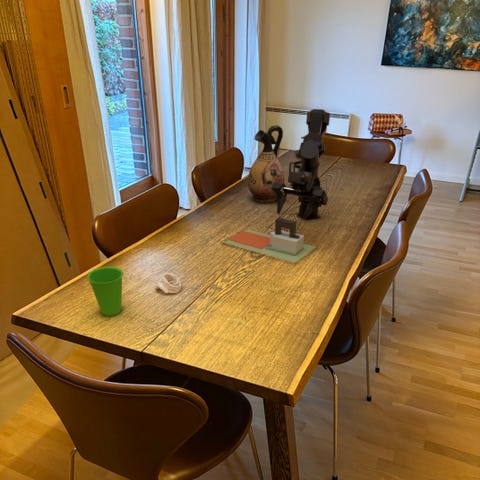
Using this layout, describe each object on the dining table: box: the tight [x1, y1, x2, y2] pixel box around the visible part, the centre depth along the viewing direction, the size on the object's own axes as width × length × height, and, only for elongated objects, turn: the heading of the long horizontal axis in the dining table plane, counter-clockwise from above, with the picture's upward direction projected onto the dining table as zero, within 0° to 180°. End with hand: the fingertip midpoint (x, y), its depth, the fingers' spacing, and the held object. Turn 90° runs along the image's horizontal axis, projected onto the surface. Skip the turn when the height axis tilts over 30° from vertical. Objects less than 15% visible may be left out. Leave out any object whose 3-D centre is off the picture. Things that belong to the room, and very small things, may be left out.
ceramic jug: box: [247, 124, 285, 204], centre depth 195 cm, size 17×15×30 cm
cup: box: [86, 266, 124, 317], centre depth 123 cm, size 9×9×11 cm
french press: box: [288, 136, 304, 184], centre depth 208 cm, size 12×9×23 cm
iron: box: [266, 217, 305, 256], centre depth 156 cm, size 11×6×10 cm, turn 60°
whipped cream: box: [155, 272, 182, 294], centre depth 135 cm, size 8×7×5 cm
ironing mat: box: [223, 228, 317, 264], centre depth 162 cm, size 28×15×1 cm, turn 56°
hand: (290, 216), depth 155 cm, fingers open, 9 cm apart
